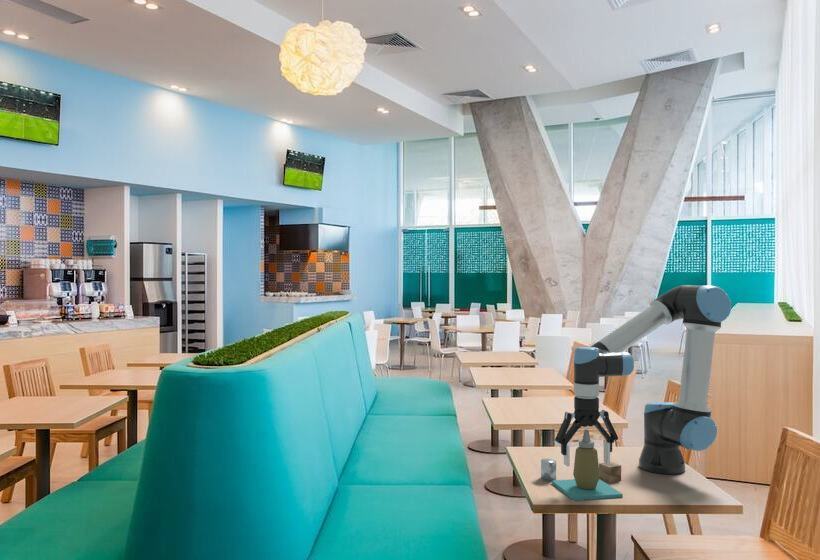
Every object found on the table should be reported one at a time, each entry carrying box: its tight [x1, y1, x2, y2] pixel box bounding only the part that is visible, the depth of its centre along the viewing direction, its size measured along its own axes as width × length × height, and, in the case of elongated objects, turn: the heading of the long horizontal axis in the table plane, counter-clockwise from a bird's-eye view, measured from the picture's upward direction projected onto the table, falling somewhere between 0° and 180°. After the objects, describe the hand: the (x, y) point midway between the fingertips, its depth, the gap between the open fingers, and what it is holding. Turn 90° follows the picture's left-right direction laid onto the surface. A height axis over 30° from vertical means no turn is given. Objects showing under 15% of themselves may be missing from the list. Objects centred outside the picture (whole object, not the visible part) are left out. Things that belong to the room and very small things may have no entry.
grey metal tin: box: [540, 458, 557, 482], centre depth 213 cm, size 5×5×6 cm
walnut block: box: [598, 460, 622, 483], centre depth 212 cm, size 5×5×5 cm
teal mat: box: [551, 478, 623, 501], centre depth 201 cm, size 16×16×1 cm
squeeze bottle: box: [572, 428, 600, 489], centre depth 201 cm, size 8×8×18 cm
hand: (586, 463), depth 201 cm, fingers open, 13 cm apart
